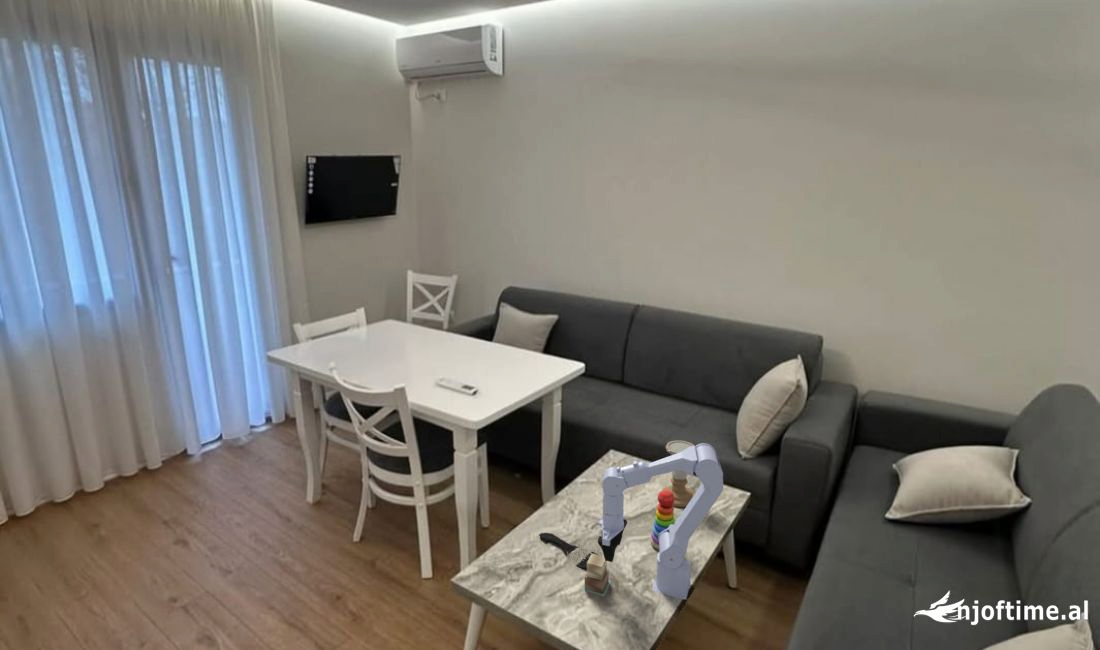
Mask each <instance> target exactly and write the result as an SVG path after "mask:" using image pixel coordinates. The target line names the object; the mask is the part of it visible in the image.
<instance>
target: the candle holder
mask: <svg viewBox="0 0 1100 650" xmlns="http://www.w3.org/2000/svg"><path fill="white" fill-rule="evenodd" d="M690 446H695V445H694V444H693V443H692V442H688V441H685V440H680V439H679V440H671V441H669V442H667V443H666V445H665V449H666V452H667V453H669V454H670V455H674V454H677V453H679V452H682V451H684V450H685V449H687V448H688V447H690ZM687 477H688V473H686V472H684V471H683V470H679V471H674V472H671V478H670V482H671V484H672V485H669V486H668V485H667V486H666V487H664V488H663V489H662V490H669V491H671V492H672V493H673V495H674V503H673V504H672V505H673V507H677V508H678V507H679V508H686V506H687V505H688V503H689V502H690V500H691V499H692V498H693V496H694V495H695V493H696V492H694V490H692V489H690V488H688V487H687V486H686V485H687V484H688V479H687Z"/></svg>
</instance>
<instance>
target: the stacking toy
mask: <svg viewBox="0 0 1100 650" xmlns="http://www.w3.org/2000/svg"><path fill="white" fill-rule="evenodd" d="M657 501H658V504H657V509H656V511H655V517H654V522H653V527H652V531H651V534H650V535H651V537H650V544H651V546H652V547H653V548H654V549H656V550H658V551H660V548H659V540H658V537H659V534H660V533H661V532H662V531H664V530H666V529H667V528H668V527H669V525H671V524H675V523H676V520H675V517H674V516H675V513H674V510H675V508H674V507H675V506H673V505H672V504H673V503H674V495H673V493H672V492H671V491H669V490H663V489H662V490H661V491H659V493H658V494H657Z"/></svg>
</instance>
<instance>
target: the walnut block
mask: <svg viewBox="0 0 1100 650" xmlns="http://www.w3.org/2000/svg"><path fill="white" fill-rule="evenodd" d="M609 574H610V573H609V569H608V568H606V572H605V574H604V577H603V579H602V580H599V579H595V578H591V577H587V572H586V574H585V575H584V585H585V589H586V590H589V591H593V592H597V593H600V594H603V593H604V591H605V588H606V586H607V584H608V581H609V580H610V579H609Z"/></svg>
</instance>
